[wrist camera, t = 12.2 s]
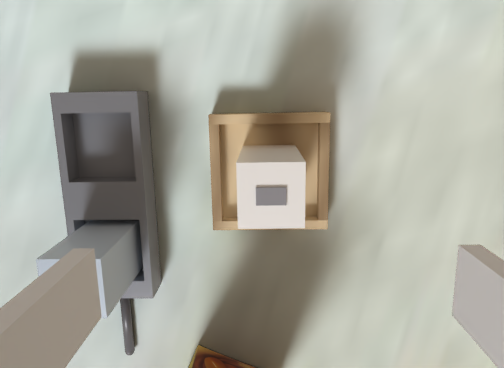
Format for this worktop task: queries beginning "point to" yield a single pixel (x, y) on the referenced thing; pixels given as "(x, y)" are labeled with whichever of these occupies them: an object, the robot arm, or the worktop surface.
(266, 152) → the block
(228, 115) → the tray
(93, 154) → the power strip
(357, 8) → the worktop surface
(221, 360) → the candy box
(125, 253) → the charger blue
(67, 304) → the robot arm
